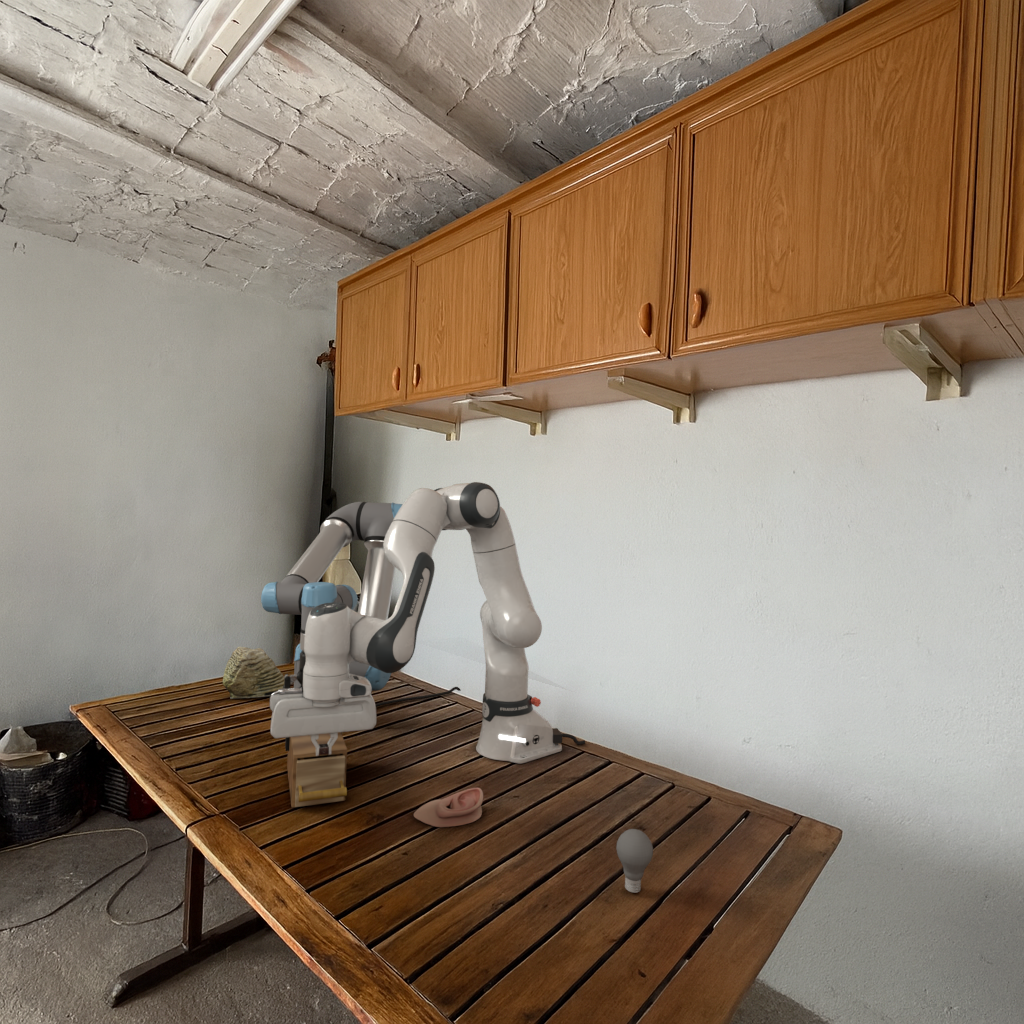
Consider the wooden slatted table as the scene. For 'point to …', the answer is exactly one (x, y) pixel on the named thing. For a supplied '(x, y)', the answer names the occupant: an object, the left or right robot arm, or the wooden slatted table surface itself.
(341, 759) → the drawer
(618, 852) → the light bulb
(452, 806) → the anatomical model
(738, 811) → the wooden slatted table surface
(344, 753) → the cabinet
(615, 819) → the wooden slatted table surface
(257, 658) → the fossil
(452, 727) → the wooden slatted table surface
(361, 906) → the wooden slatted table surface
